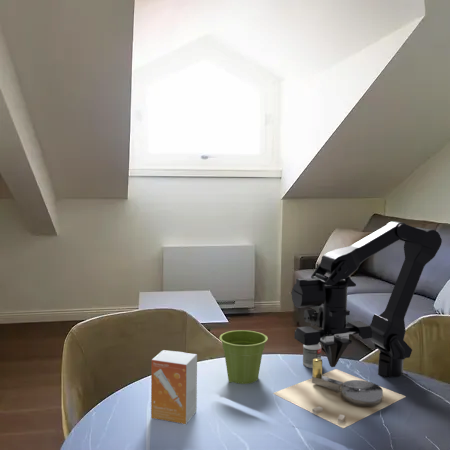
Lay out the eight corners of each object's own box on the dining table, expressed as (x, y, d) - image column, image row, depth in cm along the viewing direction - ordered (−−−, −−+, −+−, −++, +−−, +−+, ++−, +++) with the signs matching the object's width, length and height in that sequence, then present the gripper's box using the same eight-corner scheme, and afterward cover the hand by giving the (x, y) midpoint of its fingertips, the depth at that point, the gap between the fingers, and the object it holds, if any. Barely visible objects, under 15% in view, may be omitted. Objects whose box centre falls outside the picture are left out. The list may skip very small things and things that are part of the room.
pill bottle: (320, 372, 131) (321, 341, 130) (302, 370, 132) (303, 339, 131) (320, 365, 135) (321, 335, 134) (303, 363, 136) (304, 333, 135)
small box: (150, 419, 105) (150, 359, 104) (163, 405, 111) (163, 348, 110) (186, 425, 103) (186, 364, 101) (197, 411, 109) (197, 353, 107)
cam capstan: (388, 396, 114) (390, 372, 113) (371, 410, 107) (373, 385, 106) (322, 375, 125) (323, 353, 124) (302, 387, 118) (303, 364, 117)
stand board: (335, 372, 130) (336, 366, 130) (405, 400, 115) (406, 393, 115) (272, 397, 116) (272, 389, 116) (343, 433, 101) (343, 424, 100)
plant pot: (274, 378, 126) (276, 335, 125) (251, 396, 117) (252, 349, 115) (235, 367, 133) (235, 326, 132) (209, 383, 123) (210, 339, 122)
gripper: (348, 293, 132) (346, 351, 134) (285, 299, 126) (283, 359, 128) (374, 304, 122) (372, 366, 123) (306, 311, 116) (304, 376, 117)
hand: (332, 366), depth 123 cm, fingers closed
